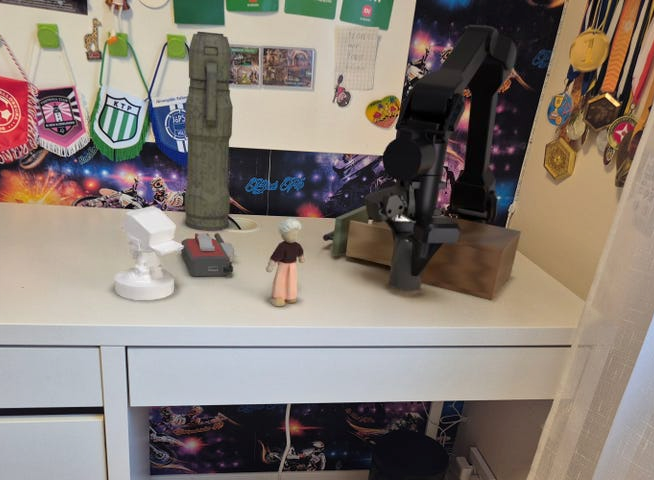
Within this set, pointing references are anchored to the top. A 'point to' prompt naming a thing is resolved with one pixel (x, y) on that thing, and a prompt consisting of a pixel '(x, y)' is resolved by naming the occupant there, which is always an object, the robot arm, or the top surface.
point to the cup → (403, 265)
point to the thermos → (208, 132)
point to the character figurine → (147, 255)
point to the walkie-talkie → (208, 255)
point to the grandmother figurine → (286, 263)
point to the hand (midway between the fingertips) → (407, 269)
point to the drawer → (362, 237)
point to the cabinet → (474, 259)
